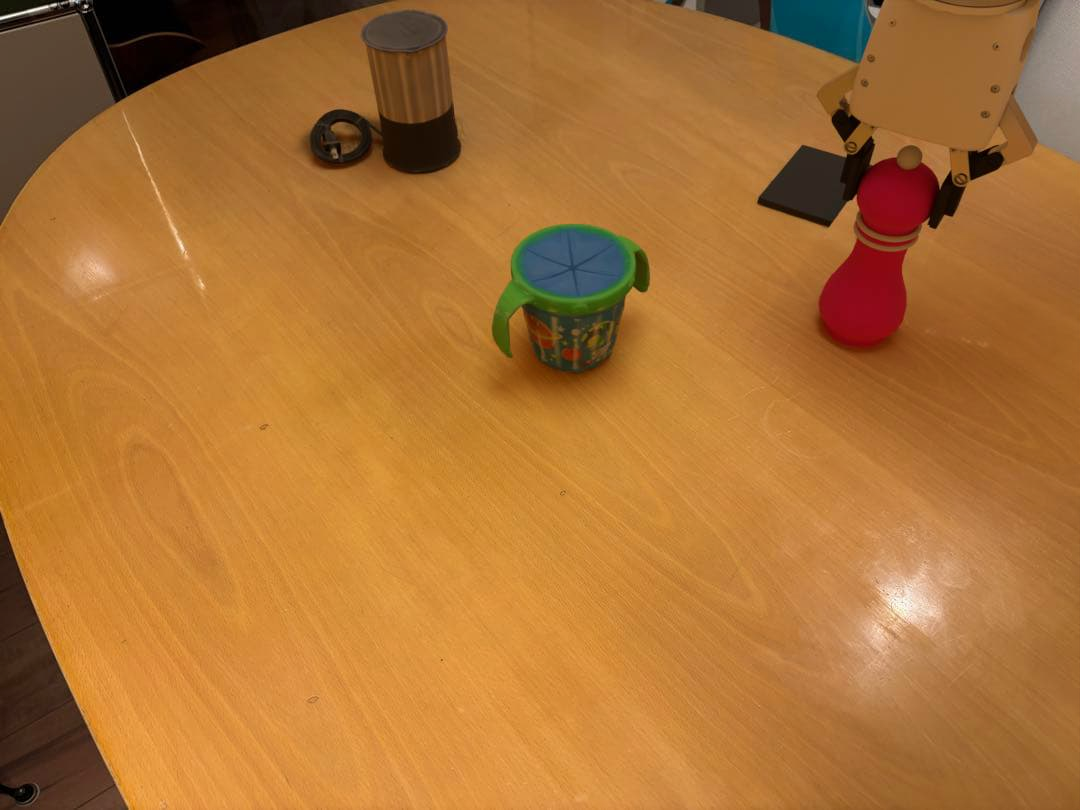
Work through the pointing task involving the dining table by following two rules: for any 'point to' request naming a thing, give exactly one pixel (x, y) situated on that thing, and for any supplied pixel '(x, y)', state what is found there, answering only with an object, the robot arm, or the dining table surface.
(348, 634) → the dining table surface
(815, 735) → the dining table surface
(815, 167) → the mat
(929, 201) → the pepper mill
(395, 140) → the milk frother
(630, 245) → the snack cup
